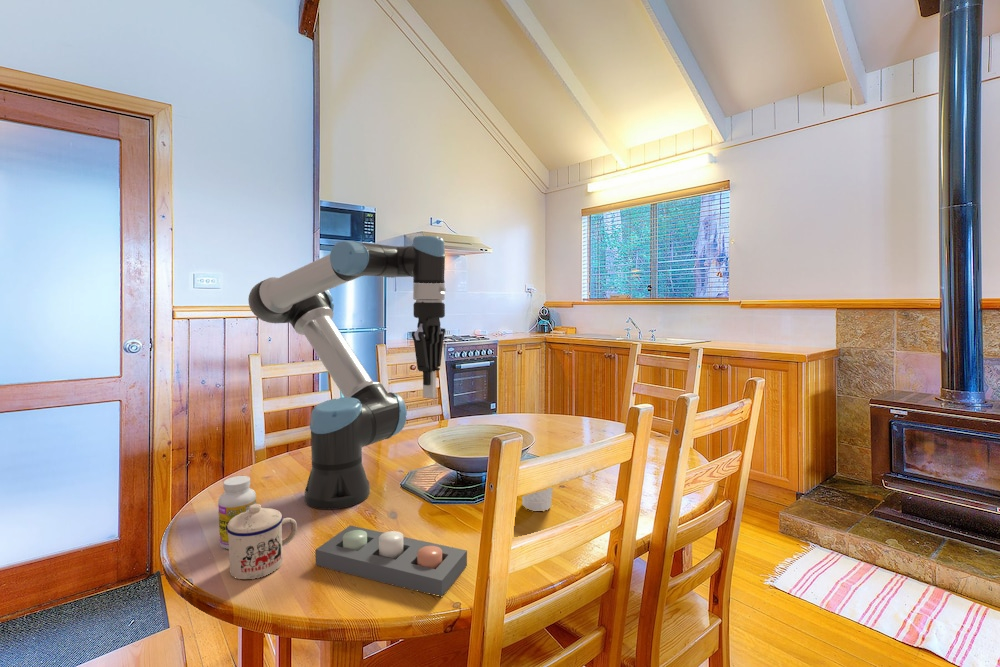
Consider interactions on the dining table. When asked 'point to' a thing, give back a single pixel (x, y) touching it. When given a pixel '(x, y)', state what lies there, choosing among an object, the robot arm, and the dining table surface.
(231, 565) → the teacup with lid
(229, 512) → the supplement bottle
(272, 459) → the dining table surface
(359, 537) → the sage button
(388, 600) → the dining table surface
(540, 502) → the white cup
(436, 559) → the terracotta button
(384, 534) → the cream button
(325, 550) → the button console
